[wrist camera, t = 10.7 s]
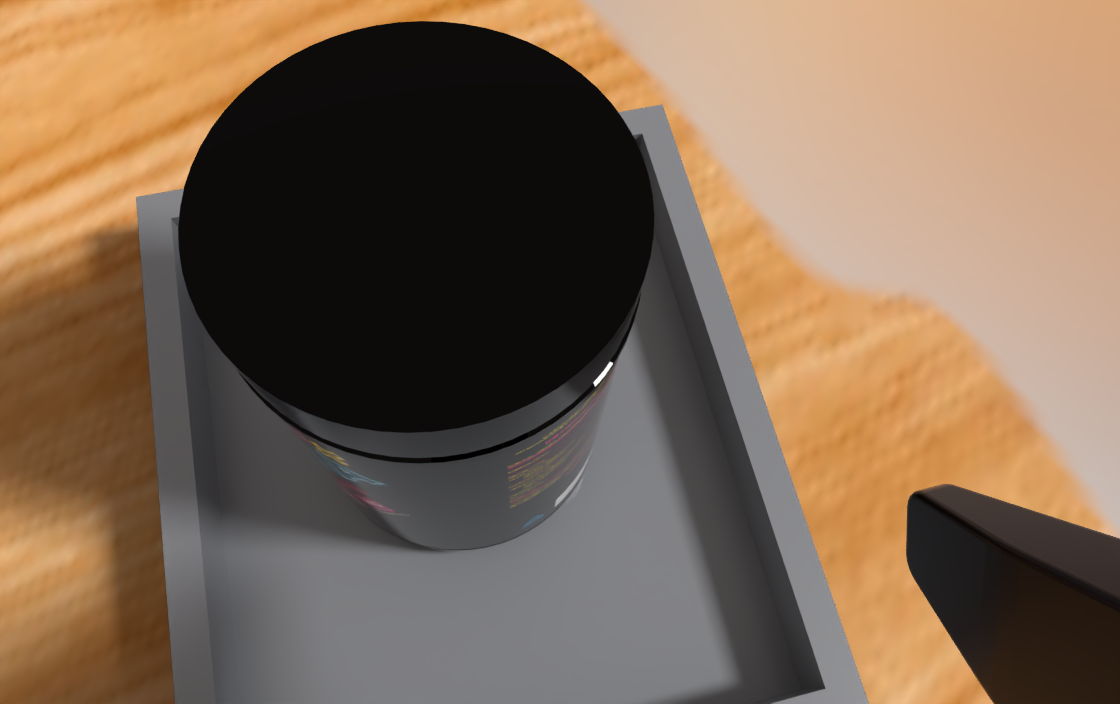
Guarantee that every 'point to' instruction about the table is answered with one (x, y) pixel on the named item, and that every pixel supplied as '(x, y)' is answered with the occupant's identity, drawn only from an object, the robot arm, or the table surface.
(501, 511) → the supplement container
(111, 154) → the table surface
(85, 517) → the table surface
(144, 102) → the table surface
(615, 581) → the tray
